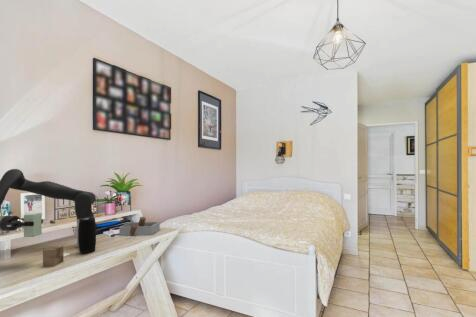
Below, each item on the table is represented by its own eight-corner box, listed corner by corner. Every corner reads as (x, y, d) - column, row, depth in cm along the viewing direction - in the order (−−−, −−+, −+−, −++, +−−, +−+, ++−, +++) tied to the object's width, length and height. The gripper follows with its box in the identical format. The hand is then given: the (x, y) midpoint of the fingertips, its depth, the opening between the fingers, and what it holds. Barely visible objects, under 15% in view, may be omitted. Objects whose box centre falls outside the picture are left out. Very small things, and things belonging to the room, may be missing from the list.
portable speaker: (75, 255, 141) (75, 219, 141) (82, 249, 150) (82, 216, 150) (92, 253, 142) (92, 218, 143) (98, 248, 152) (97, 215, 152)
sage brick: (32, 234, 132) (32, 213, 132) (41, 234, 132) (41, 212, 132) (23, 237, 127) (23, 214, 127) (33, 236, 127) (33, 214, 127)
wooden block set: (133, 238, 178) (136, 226, 176) (125, 232, 182) (128, 220, 180) (152, 231, 194) (155, 219, 193) (144, 226, 198) (148, 214, 196)
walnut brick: (52, 261, 131) (52, 246, 132) (63, 261, 131) (63, 246, 131) (42, 266, 125) (42, 249, 126) (54, 266, 125) (54, 249, 125)
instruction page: (52, 253, 144) (52, 253, 144) (71, 253, 143) (71, 252, 143) (40, 259, 136) (40, 258, 136) (60, 258, 135) (60, 258, 135)
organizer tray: (129, 230, 196) (129, 222, 196) (159, 229, 195) (159, 221, 195) (119, 235, 180) (119, 227, 180) (152, 235, 179) (151, 226, 179)
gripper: (-9, 218, 123) (25, 218, 122) (18, 213, 137) (49, 212, 137) (-9, 234, 123) (25, 233, 122) (18, 227, 137) (49, 226, 136)
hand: (37, 222), depth 129 cm, fingers closed on sage brick, 5 cm apart
